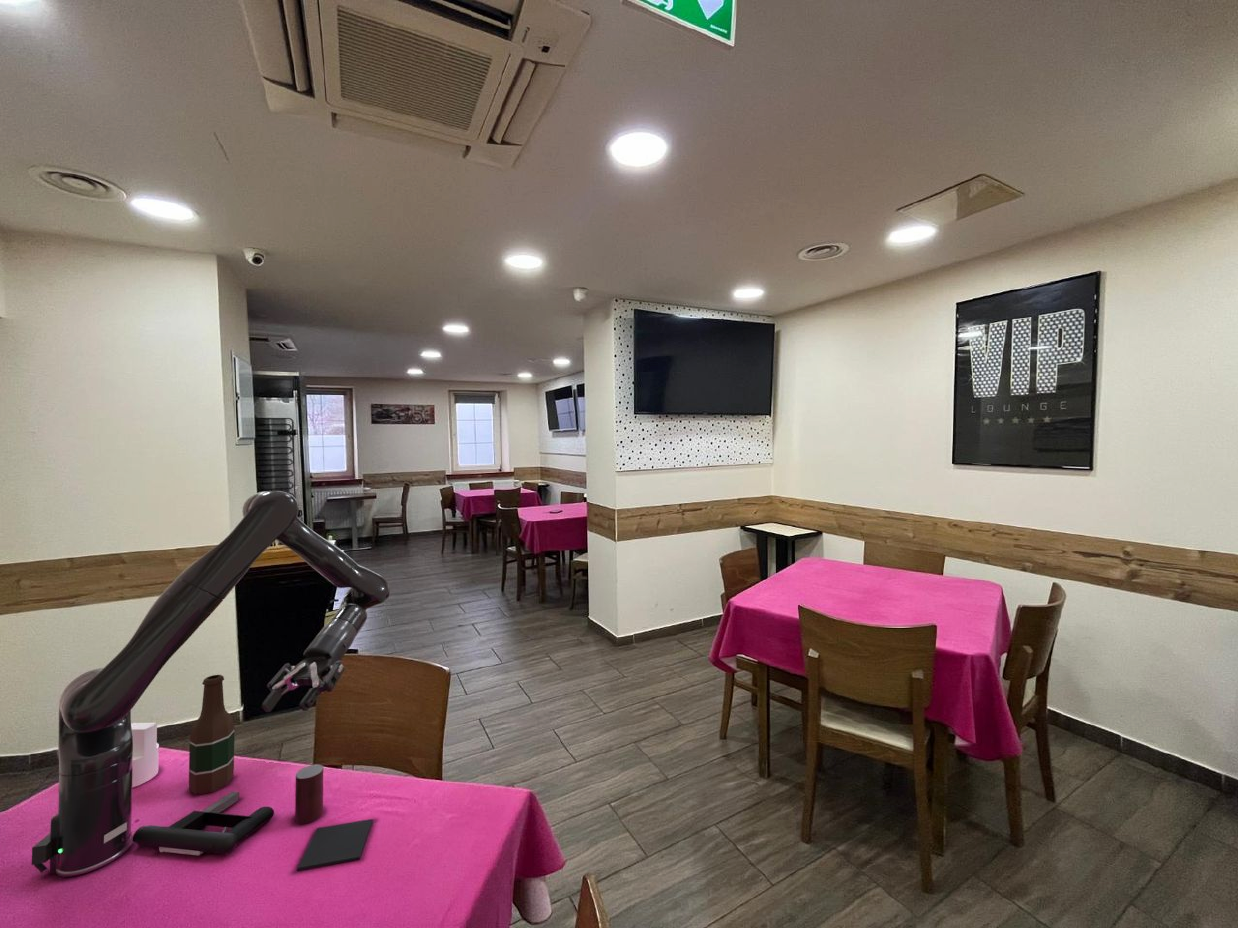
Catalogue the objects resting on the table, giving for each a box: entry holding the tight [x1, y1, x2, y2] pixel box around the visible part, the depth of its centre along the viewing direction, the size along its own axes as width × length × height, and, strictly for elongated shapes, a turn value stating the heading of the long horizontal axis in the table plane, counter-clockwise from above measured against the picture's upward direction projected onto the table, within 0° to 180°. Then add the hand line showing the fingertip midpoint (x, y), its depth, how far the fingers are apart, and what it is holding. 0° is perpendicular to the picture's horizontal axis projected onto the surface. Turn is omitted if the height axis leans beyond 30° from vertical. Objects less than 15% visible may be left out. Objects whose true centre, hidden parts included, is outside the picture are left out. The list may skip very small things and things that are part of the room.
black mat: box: [296, 818, 374, 871], centre depth 91 cm, size 10×10×1 cm
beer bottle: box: [188, 674, 235, 796], centre depth 109 cm, size 8×8×24 cm
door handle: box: [132, 790, 275, 856], centre depth 96 cm, size 3×20×16 cm
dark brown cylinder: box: [294, 763, 324, 825], centre depth 99 cm, size 5×5×9 cm
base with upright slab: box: [131, 722, 160, 789], centre depth 111 cm, size 9×9×12 cm
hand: (283, 708), depth 98 cm, fingers open, 8 cm apart
